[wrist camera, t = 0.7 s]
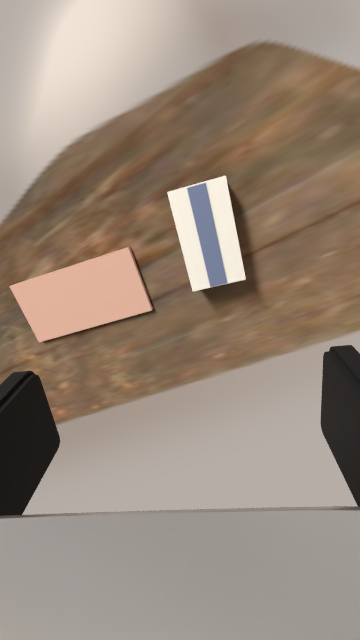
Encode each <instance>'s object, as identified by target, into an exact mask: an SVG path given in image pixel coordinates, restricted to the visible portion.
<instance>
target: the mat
mask: <svg viewBox="0 0 360 640" xmlns="http://www.w3.org/2000/svg"><path fill="white" fill-rule="evenodd" d="M10 288H11V290H12V292H13V294H14V296H15V298H16V300H17V301H18V303H19V305H20V307H21V309H22V311H23V313H24V315H25V317H26V318H27V320H28V322H29V324H30V326H31V328H32V330H33V332H34V334H35V336H36V337H37V339H38V341H39V342H42V341H46V340H49V339H53V338H56V337H60V336H63V335H67V334H70V333H74V332H77V331H81V330H84V329H88V328H92V327H95V326H99V325H102V324H106V323H109V322H113V321H116V320H120V319H123V318H127V317H130V316H134V315H137V314H141V313H145V312H148V311H152V309H153V307H152V305H151V302H150V299H149V297H148V294H147V291H146V289H145V286H144V283H143V281H142V278H141V275H140V273H139V270H138V267H137V265H136V262H135V259H134V257H133V254H132V251H131V249H130V247H127V248H124V249H121V250H118V251H115V252H112V253H109V254H106V255H103V256H100V257H96V258H93V259H90V260H87V261H84V262H81V263H78V264H75V265H72V266H69V267H66V268H63V269H60V270H57V271H54V272H51V273H47V274H44V275H41V276H38V277H35V278H32V279H29V280H26V281H23V282H20V283H17V284H14V285H11V286H10Z"/></svg>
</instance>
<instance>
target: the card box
mask: <svg viewBox="0 0 360 640" xmlns="http://www.w3.org/2000/svg"><path fill="white" fill-rule="evenodd" d="M167 193H168V197H169V201H170V205H171V209H172V213H173V217H174V220H175V224H176V228H177V232H178V236H179V240H180V244H181V248H182V252H183V255H184V259H185V263H186V267H187V271H188V275H189V279H190V283H191V286H192V290H193V291H198V290H202V289H206V288H211V287H215V286H219V285H224V284H228V283H233V282H237V281H241V280H246V278H245V272H244V267H243V262H242V257H241V252H240V247H239V242H238V236H237V231H236V226H235V221H234V216H233V211H232V206H231V200H230V195H229V190H228V185H227V180H226V176H222V177H219V178H215V179H212V180H208V181H205V182H201V183H198V184H194V185H191V186H187V187H184V188H180V189H177V190H173V191H170V192H167Z"/></svg>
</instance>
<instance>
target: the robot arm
mask: <svg viewBox="0 0 360 640" xmlns="http://www.w3.org/2000/svg"><path fill="white" fill-rule="evenodd" d="M322 381H323V382H322V404H321V428H322V432H323V435H324V436H325V439H326V441H327V443H328V445H329V447H330V449H331V451H332V453H333V455H334V457H335V459H336V462H337V464H338V466H339V468H340V470H341V472H342V474H343V476H344V478H345V480H346V482H347V484H348V487H349V488H350V491H351V493H352V494H353V497H354V499H355V501H356V503H357V505H358V507H346V506H344V507H341V506H333V507H280V508H279V507H278V508H237V509H200V510H199V509H197V510H160V511H130V512H129V511H128V512H127V511H126V512H96V513H64V514H41V515H40V514H37V515H22V513H23V512H24V510H25V508H26V506H27V504H28V503H29V501H30V499H31V497H32V495H33V493H34V492H35V490H36V488H37V486H38V484H39V483H40V481H41V479H42V477H43V475H44V473H45V472H46V470H47V468H48V466H49V464H50V463H51V461H52V459H53V457H54V455H55V453H56V452H57V450H58V448H59V444H60V437H59V434H58V431H57V428H56V425H55V422H54V419H53V416H52V413H51V410H50V407H49V404H48V401H47V398H46V395H45V392H44V389H43V386H42V383H41V380H40V378H39V376H38V375H35V374H34V373H33V372H32V371H24V372H14V373H12V374H11V375H10V376H9V377H8V378H7V379H6V380H5V381H4V382H3V383H2V384H1V385H0V640H360V354H359V353H358V351H356V349H355V348H354V347H353V346H351V345H346V346H334V347H331V348H330V350H329V352H325V353H324V356H323V380H322Z"/></svg>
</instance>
